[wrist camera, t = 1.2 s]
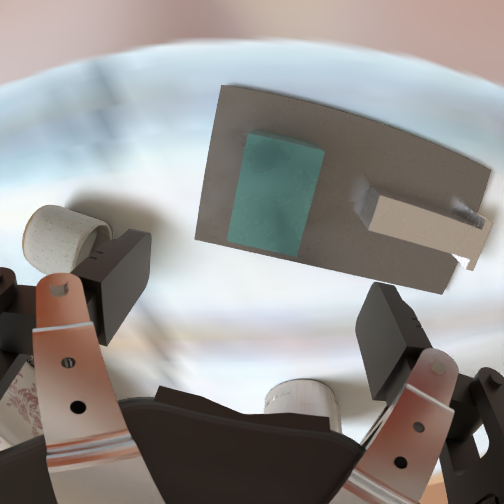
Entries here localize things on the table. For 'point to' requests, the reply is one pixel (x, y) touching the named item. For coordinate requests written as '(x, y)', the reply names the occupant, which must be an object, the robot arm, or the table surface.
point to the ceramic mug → (61, 238)
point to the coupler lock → (274, 191)
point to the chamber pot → (20, 410)
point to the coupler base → (355, 192)
